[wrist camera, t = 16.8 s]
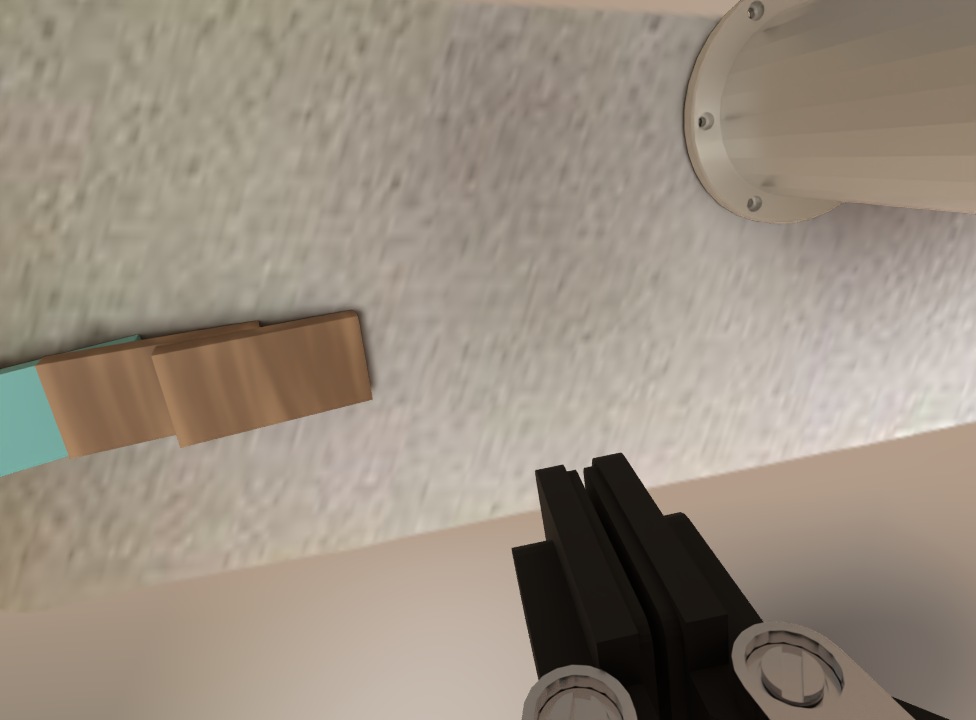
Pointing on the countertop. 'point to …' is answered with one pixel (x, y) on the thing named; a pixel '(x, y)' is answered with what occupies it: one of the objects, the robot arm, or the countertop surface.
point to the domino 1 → (30, 418)
